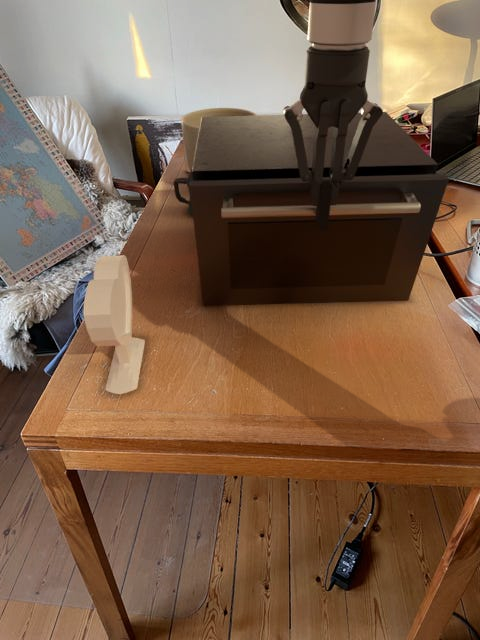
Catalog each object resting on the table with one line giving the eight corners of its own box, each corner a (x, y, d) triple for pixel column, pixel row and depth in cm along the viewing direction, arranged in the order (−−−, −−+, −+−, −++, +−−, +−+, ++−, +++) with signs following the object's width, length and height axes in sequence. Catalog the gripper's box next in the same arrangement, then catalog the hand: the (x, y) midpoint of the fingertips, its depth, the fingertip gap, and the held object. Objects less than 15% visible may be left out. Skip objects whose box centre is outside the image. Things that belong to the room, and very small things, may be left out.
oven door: (414, 314, 86) (457, 191, 68) (202, 320, 86) (188, 199, 68) (406, 294, 90) (445, 173, 71) (203, 300, 90) (190, 180, 71)
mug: (223, 203, 125) (221, 163, 118) (219, 218, 118) (217, 176, 111) (180, 203, 126) (176, 162, 119) (173, 217, 119) (168, 175, 112)
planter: (257, 199, 127) (257, 128, 115) (183, 199, 128) (175, 129, 116) (258, 172, 143) (258, 107, 131) (192, 172, 144) (186, 108, 132)
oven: (405, 295, 90) (438, 164, 74) (203, 300, 90) (191, 171, 74) (367, 221, 115) (386, 111, 99) (209, 225, 115) (201, 116, 99)
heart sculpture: (135, 397, 71) (112, 304, 59) (102, 399, 70) (73, 306, 59) (146, 333, 83) (129, 245, 72) (118, 334, 83) (97, 247, 71)
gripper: (384, 39, 58) (358, 212, 72) (281, 42, 58) (276, 215, 72) (401, 47, 52) (370, 235, 66) (287, 51, 52) (280, 237, 66)
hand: (321, 224), depth 69 cm, fingers closed
